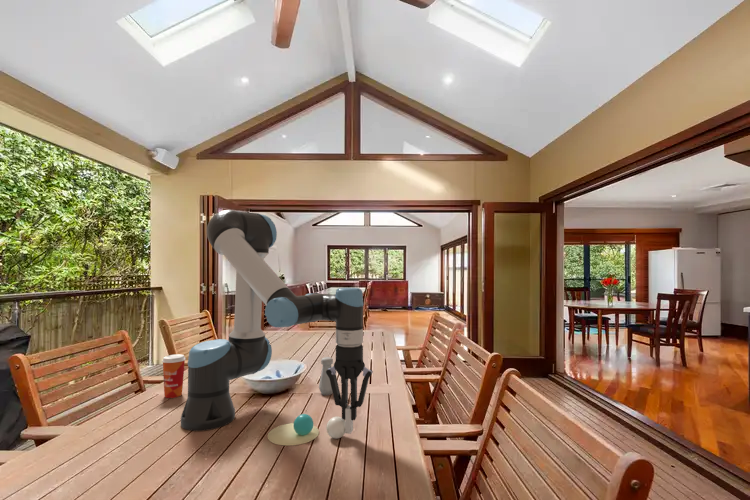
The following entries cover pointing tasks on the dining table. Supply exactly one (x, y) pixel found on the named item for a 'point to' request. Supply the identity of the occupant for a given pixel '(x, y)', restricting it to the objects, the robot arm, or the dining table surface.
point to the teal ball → (303, 424)
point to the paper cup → (173, 375)
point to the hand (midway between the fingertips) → (349, 431)
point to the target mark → (290, 435)
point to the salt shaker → (325, 376)
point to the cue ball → (336, 427)
